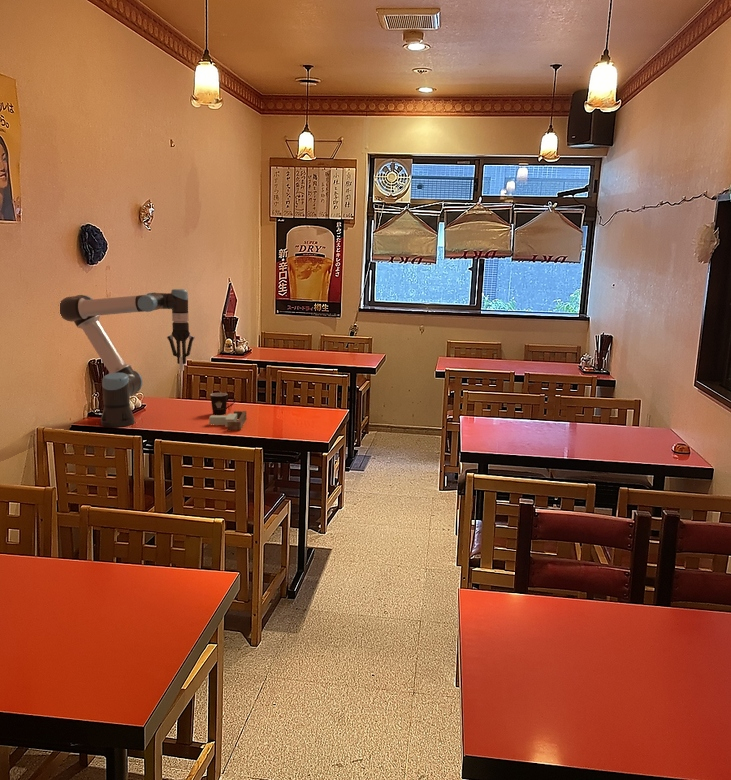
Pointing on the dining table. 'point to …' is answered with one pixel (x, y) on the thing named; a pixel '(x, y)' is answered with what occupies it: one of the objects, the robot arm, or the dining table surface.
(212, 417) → the tee block
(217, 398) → the coffee mug
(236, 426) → the fence
